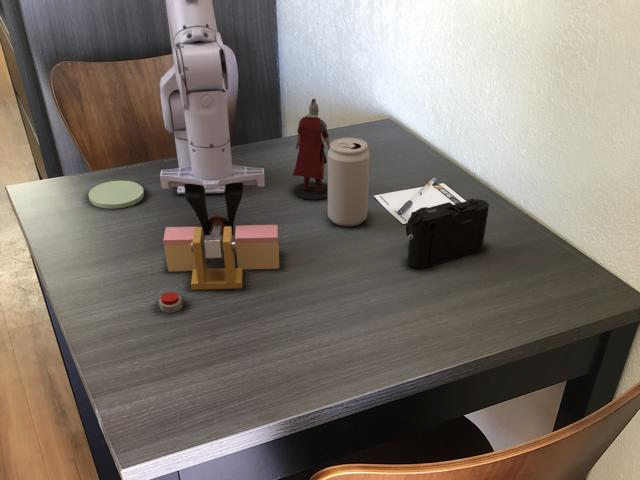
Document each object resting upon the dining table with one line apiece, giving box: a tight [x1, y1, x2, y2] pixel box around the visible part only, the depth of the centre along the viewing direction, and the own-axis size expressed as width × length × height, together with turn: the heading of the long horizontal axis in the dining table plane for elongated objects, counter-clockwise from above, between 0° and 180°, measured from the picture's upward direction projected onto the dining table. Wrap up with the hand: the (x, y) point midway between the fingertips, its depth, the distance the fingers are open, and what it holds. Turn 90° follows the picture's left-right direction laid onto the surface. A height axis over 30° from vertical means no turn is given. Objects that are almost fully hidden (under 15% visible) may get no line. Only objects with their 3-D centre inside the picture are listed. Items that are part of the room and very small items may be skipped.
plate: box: [88, 180, 145, 210], centre depth 122 cm, size 9×9×1 cm
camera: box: [405, 198, 490, 270], centre depth 108 cm, size 14×7×8 cm, turn 120°
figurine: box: [291, 98, 331, 201], centre depth 119 cm, size 7×7×15 cm
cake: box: [234, 224, 280, 271], centre depth 106 cm, size 4×6×5 cm, turn 94°
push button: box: [158, 291, 183, 314], centre depth 98 cm, size 3×3×2 cm
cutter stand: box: [190, 226, 244, 291], centre depth 101 cm, size 4×7×7 cm, turn 94°
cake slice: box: [162, 226, 196, 273], centre depth 105 cm, size 4×4×5 cm
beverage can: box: [327, 137, 371, 227], centre depth 113 cm, size 6×6×12 cm
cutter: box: [203, 213, 228, 259], centre depth 104 cm, size 13×3×3 cm, turn 4°
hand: (218, 232), depth 109 cm, fingers closed on cutter, 3 cm apart
